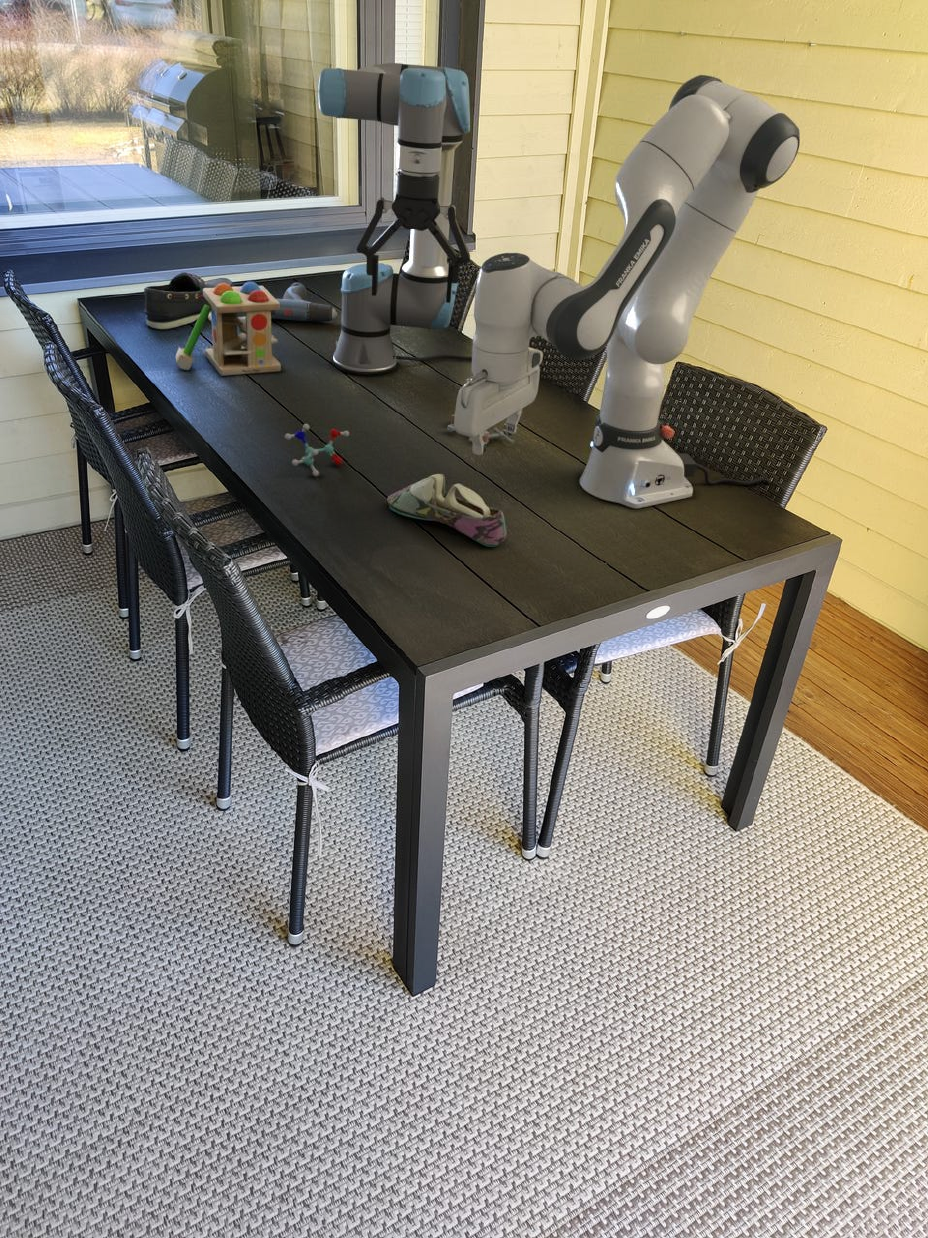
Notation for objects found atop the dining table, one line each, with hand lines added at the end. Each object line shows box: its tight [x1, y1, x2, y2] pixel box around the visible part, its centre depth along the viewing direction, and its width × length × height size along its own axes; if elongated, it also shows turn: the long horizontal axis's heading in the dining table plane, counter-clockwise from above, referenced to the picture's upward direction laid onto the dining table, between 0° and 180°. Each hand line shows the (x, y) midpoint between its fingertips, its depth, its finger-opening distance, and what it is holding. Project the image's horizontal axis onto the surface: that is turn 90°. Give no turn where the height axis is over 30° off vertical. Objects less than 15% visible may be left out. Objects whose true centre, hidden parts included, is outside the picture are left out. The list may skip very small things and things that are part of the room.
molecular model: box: [284, 423, 350, 477], centre depth 188 cm, size 12×10×10 cm
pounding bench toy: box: [174, 281, 282, 377], centre depth 225 cm, size 23×14×18 cm, turn 116°
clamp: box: [447, 413, 515, 445], centre depth 208 cm, size 15×2×10 cm
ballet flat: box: [386, 473, 507, 548], centre depth 173 cm, size 8×24×9 cm, turn 56°
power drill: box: [271, 282, 338, 322], centre depth 265 cm, size 5×19×20 cm
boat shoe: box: [143, 271, 236, 330], centre depth 257 cm, size 13×33×10 cm, turn 147°
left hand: (411, 297), depth 180 cm, fingers open, 13 cm apart
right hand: (494, 443), depth 162 cm, fingers open, 8 cm apart
